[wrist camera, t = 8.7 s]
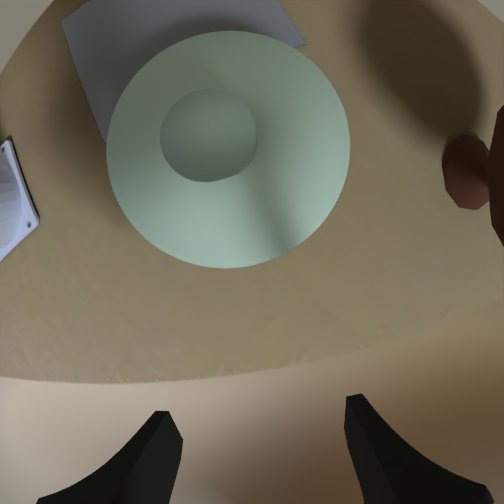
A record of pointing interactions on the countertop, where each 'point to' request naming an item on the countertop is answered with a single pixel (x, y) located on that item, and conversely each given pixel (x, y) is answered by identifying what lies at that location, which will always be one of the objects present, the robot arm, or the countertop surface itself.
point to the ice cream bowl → (478, 173)
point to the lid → (228, 149)
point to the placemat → (154, 38)
